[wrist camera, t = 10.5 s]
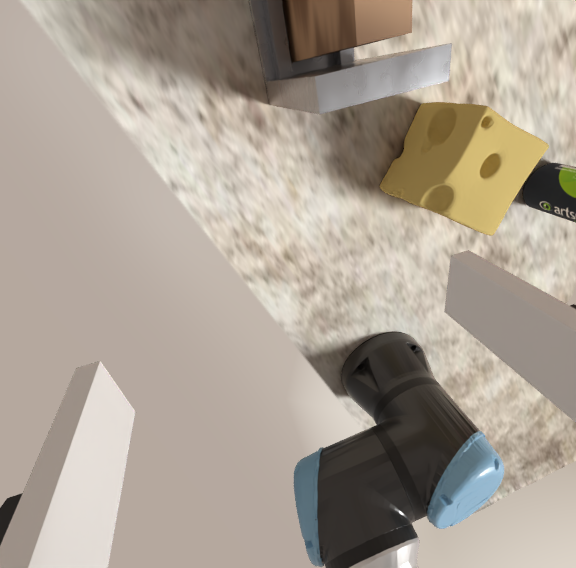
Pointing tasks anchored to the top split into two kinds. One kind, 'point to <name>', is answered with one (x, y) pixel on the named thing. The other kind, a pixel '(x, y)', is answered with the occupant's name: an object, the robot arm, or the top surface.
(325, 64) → the bottom track
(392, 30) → the door panel
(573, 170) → the beverage can
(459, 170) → the cheese
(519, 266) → the top surface
